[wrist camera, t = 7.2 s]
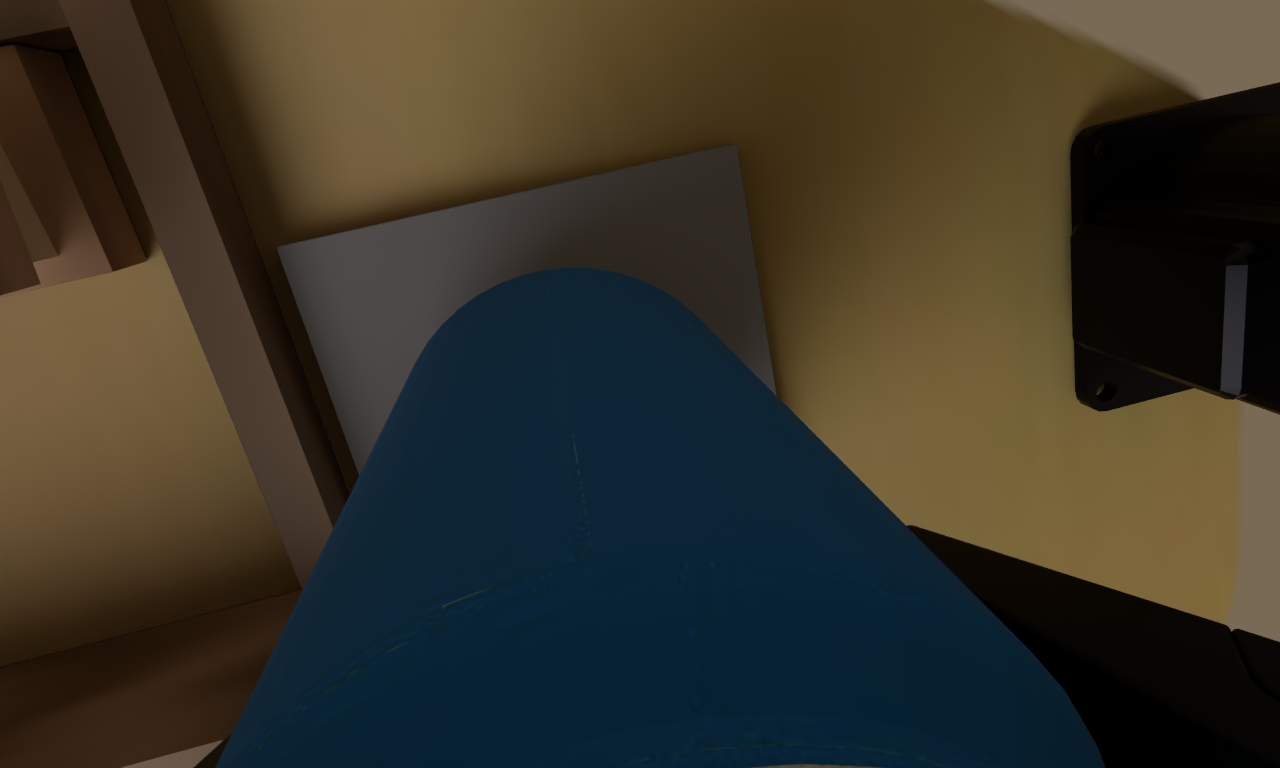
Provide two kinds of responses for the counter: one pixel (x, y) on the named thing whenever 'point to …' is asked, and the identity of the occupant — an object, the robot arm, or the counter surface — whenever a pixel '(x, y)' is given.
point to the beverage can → (630, 575)
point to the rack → (251, 388)
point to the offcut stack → (54, 181)
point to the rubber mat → (524, 269)
